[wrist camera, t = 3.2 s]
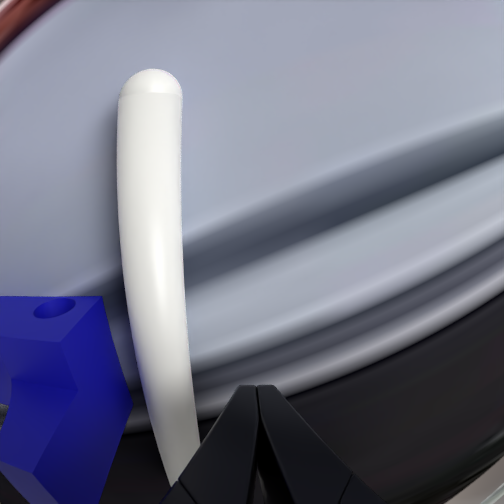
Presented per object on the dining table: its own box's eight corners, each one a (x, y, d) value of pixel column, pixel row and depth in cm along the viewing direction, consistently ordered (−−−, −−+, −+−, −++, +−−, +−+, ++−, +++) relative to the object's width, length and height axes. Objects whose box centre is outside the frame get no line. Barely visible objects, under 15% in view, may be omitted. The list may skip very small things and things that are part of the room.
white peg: (208, 477, 12) (207, 504, 10) (174, 474, 11) (170, 500, 10) (188, 76, 7) (177, 57, 6) (132, 80, 7) (111, 65, 6)
